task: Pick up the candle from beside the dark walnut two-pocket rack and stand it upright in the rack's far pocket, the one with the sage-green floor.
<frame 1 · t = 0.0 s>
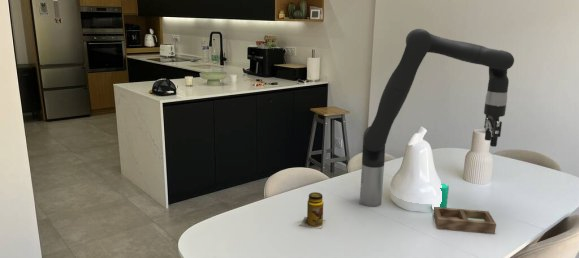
hand: (490, 143, 174), 29 cm above the table, tool pointing down, fingers open, 8 cm apart
candle: (438, 209, 184), on the table
condiment: (312, 223, 170), on the table
slot rack: (462, 224, 170), on the table
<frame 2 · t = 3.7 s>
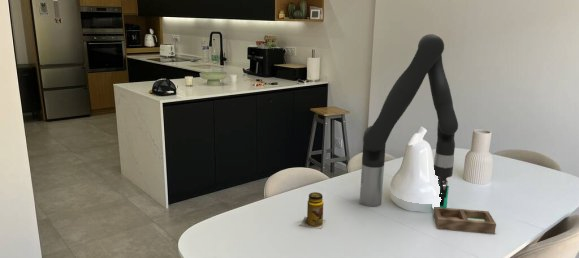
hand: (439, 202, 183), 3 cm above the table, tool pointing down, fingers closed on candle, 5 cm apart
candle: (438, 209, 184), on the table, touching gripper
everything else where it was.
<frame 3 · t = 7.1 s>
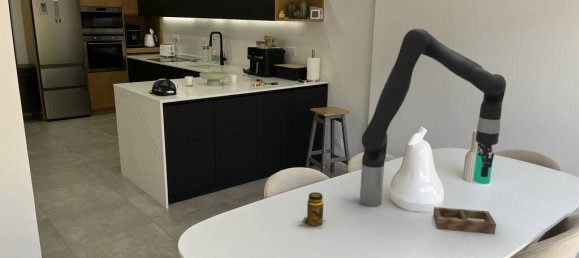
hand: (482, 173, 164), 21 cm above the table, tool pointing down, fingers closed on candle, 5 cm apart
candle: (481, 181, 165), point 18 cm above the table, touching gripper
everything else where it was.
when the fingers open (5 cm above the table, at t = 10.8 s): candle drops 1 cm, resting on slot rack.
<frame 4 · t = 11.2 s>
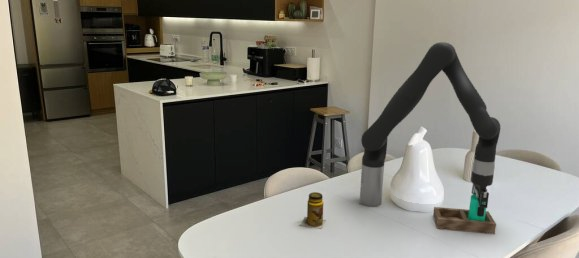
hand: (477, 211, 168), 6 cm above the table, tool pointing down, fingers open, 8 cm apart
candle: (475, 223, 169), point 1 cm above the table, touching slot rack
everything else where it was.
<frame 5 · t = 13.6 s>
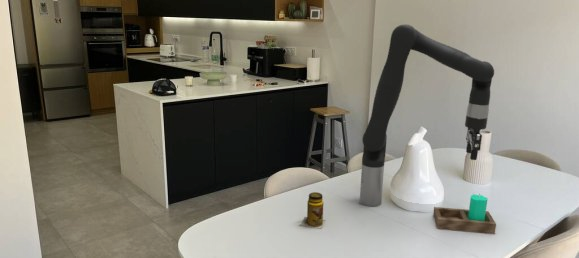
hand: (471, 156, 170), 26 cm above the table, tool pointing down, fingers open, 8 cm apart
nothing on the table moved.
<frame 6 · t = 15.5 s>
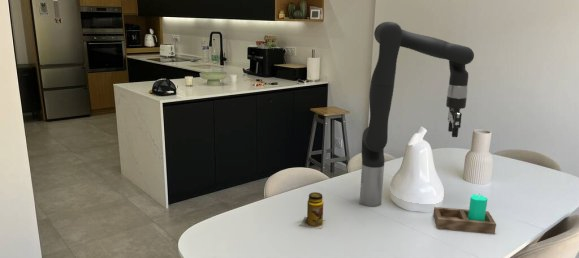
hand: (452, 134, 184), 30 cm above the table, tool pointing down, fingers open, 8 cm apart
nothing on the table moved.
at the end: candle 0.1 cm from the target spot on the slot rack, point 1.0 cm above the slot rack's base; candle tilted 0°; the gripper is holding nothing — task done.
